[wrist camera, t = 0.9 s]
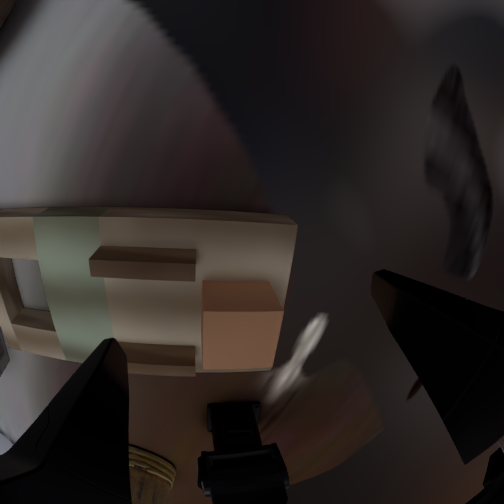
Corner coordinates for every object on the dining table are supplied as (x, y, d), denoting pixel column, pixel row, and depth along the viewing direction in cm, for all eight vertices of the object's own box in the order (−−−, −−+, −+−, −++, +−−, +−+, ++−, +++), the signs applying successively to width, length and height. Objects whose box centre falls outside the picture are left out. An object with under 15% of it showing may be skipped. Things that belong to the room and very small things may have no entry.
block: (261, 334, 23) (272, 367, 19) (201, 334, 22) (202, 369, 18) (269, 281, 21) (284, 311, 17) (202, 280, 20) (203, 311, 16)
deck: (264, 349, 27) (276, 389, 22) (20, 331, 22) (0, 362, 17) (286, 214, 22) (310, 236, 17) (-9, 209, 17) (-44, 227, 12)
